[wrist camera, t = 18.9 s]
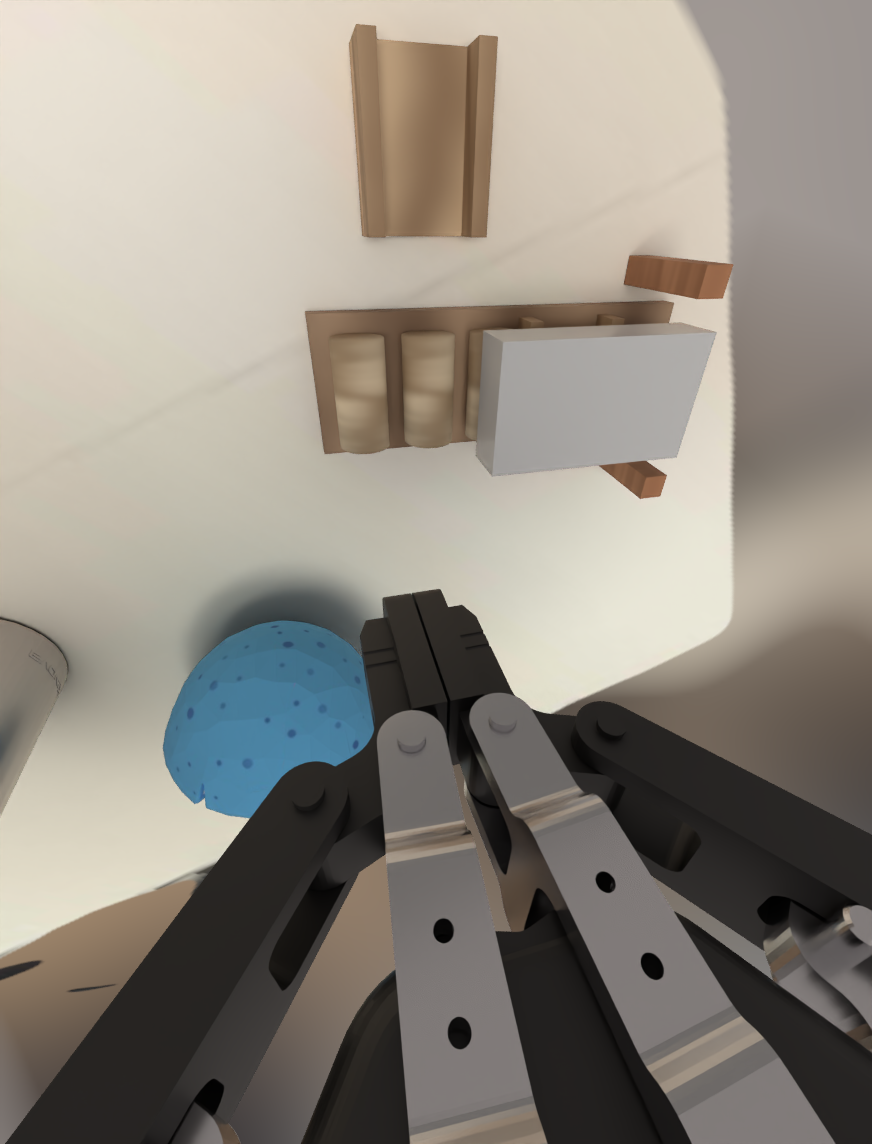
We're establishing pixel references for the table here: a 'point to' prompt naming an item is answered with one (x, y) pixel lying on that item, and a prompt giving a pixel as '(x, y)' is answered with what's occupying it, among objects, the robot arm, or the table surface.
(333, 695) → the educational model
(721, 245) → the table surface
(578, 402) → the slab
